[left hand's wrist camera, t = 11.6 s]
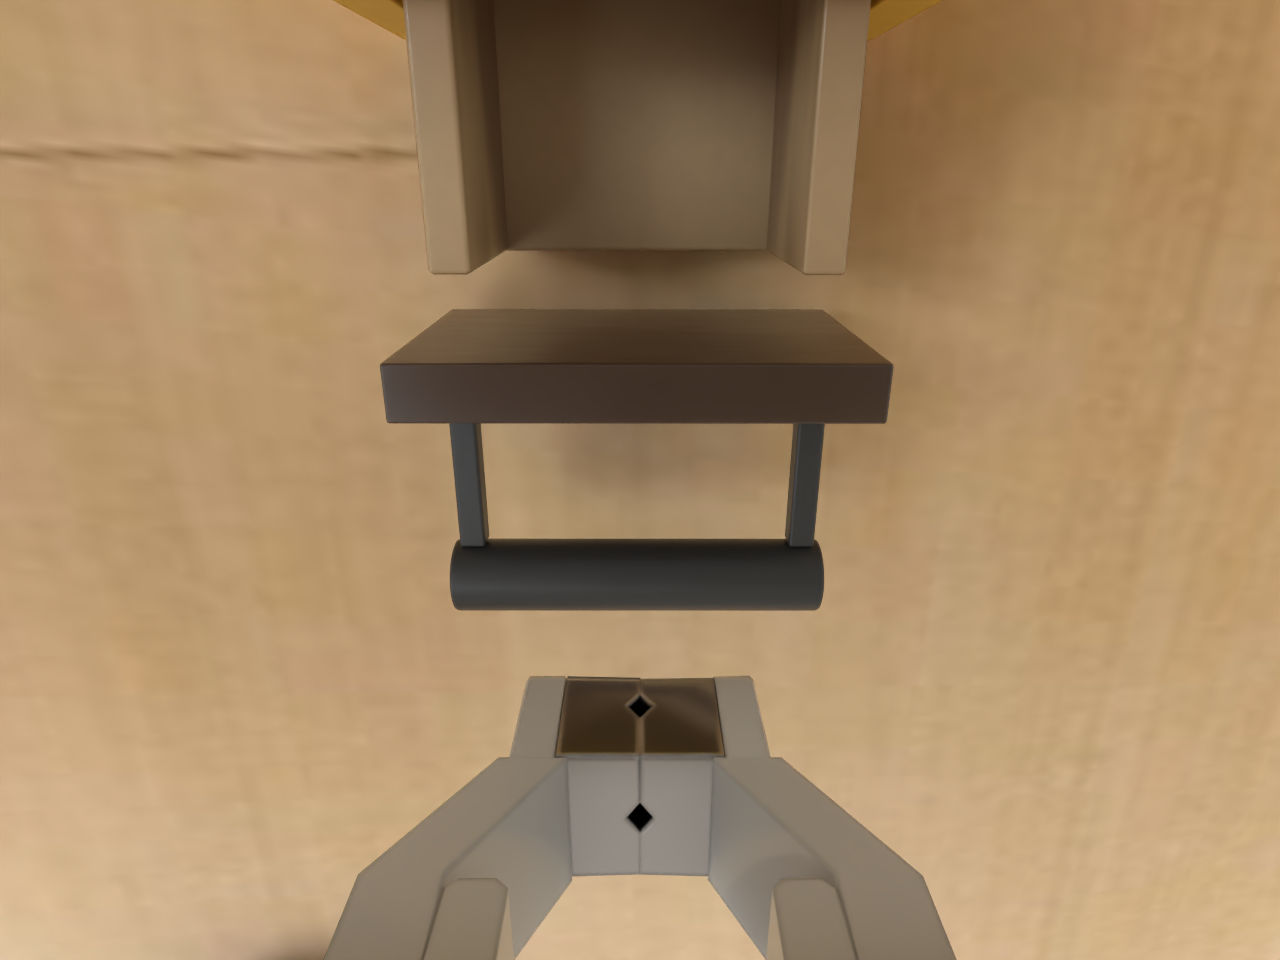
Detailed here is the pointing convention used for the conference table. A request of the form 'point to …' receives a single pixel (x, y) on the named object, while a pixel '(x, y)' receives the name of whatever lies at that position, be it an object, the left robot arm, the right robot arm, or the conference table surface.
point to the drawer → (637, 221)
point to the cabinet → (887, 10)
